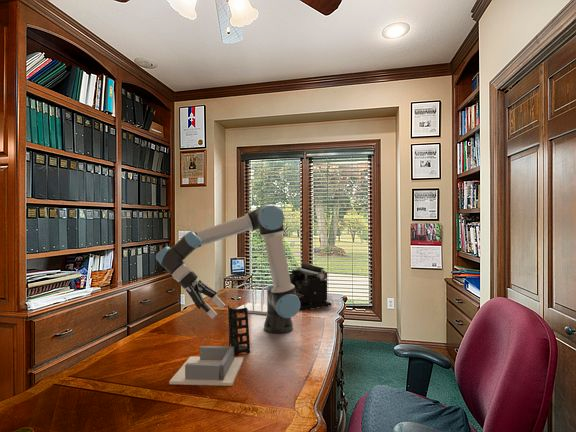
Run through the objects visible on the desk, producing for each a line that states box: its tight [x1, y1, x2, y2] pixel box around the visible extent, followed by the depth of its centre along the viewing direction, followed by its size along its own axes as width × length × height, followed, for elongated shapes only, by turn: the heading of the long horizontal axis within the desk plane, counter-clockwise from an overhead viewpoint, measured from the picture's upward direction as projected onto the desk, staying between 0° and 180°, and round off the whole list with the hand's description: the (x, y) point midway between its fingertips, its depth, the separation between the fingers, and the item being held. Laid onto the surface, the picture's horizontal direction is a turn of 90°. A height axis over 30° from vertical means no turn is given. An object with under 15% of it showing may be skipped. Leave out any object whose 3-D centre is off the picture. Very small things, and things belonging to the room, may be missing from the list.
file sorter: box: [235, 282, 270, 316], centre depth 200 cm, size 25×17×16 cm
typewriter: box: [289, 263, 332, 311], centre depth 217 cm, size 31×27×25 cm
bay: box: [168, 345, 245, 387], centre depth 119 cm, size 22×20×6 cm
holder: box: [227, 304, 251, 355], centre depth 136 cm, size 11×8×20 cm
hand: (219, 311), depth 137 cm, fingers open, 13 cm apart
